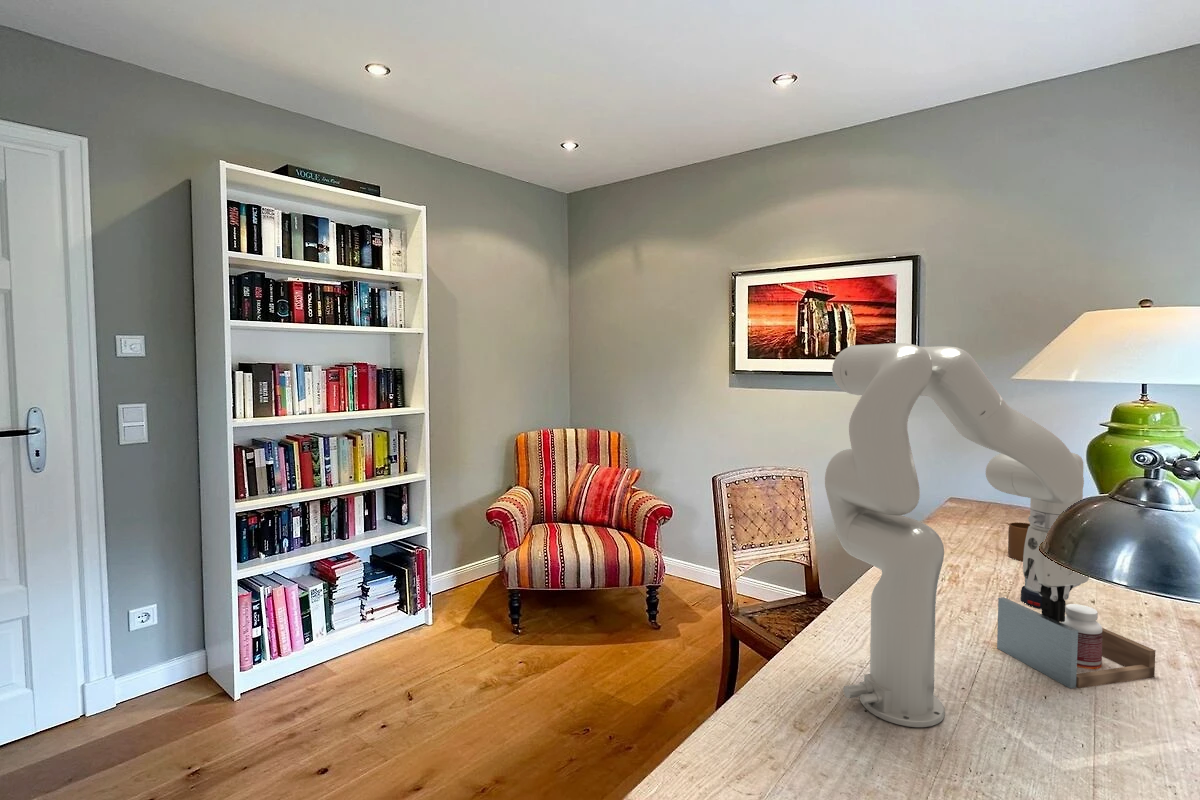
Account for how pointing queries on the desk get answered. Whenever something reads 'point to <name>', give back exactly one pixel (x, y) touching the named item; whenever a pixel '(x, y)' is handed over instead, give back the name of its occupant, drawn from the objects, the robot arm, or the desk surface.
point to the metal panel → (1038, 641)
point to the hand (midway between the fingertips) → (1053, 619)
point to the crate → (1120, 662)
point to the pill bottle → (1086, 635)
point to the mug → (1017, 539)
